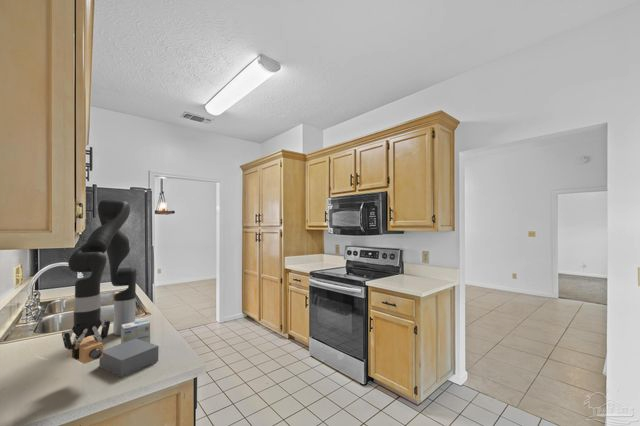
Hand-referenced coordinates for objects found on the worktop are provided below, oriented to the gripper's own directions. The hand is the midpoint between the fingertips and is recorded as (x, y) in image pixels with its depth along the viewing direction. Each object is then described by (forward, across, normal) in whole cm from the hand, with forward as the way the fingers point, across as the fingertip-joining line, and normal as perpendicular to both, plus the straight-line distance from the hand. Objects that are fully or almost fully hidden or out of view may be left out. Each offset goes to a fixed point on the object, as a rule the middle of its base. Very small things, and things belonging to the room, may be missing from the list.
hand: (86, 355), depth 103 cm
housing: (+1, 0, 0) cm, 1 cm away
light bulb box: (+10, -25, -15) cm, 31 cm away
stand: (+10, -15, -1) cm, 18 cm away
